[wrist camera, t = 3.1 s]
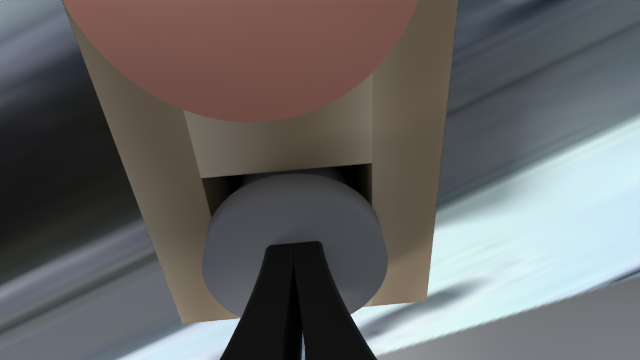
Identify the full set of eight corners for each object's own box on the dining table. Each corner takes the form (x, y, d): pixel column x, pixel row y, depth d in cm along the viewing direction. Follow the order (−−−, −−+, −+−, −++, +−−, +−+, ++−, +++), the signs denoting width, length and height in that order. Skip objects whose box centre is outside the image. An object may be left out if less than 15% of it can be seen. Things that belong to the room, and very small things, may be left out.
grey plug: (231, 245, 17) (220, 335, 14) (203, 127, 14) (181, 208, 11) (367, 233, 17) (386, 320, 14) (367, 113, 14) (390, 189, 11)
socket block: (195, 257, 18) (182, 323, 16) (24, -300, 9) (-69, -348, 7) (406, 238, 18) (426, 300, 16) (442, -332, 9) (500, -388, 7)
